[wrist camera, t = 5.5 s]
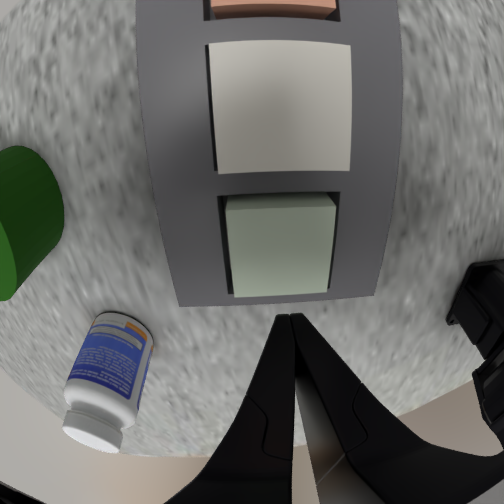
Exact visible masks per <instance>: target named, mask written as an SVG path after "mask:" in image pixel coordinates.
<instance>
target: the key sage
mask: <svg viewBox="0 0 504 504" xmlns="http://www.w3.org/2000/svg"><path fill="white" fill-rule="evenodd" d="M335 215H336V205H335V204H334V203H333V201H332V200H331V199H330V197H329V196H328V195H327V193H326V192H280V193H256V194H237V195H228V199H227V205H226V221H227V231H228V241H229V251H230V261H231V270H232V279H233V288H234V297H258V296H277V295H294V294H309V293H322V292H327V285H328V278H329V270H330V262H331V254H332V245H333V236H334V226H335Z"/></svg>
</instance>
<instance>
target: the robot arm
mask: <svg viewBox="0 0 504 504" xmlns="http://www.w3.org/2000/svg"><path fill="white" fill-rule="evenodd" d="M446 323H447V324H448V325H449V326H450V325H454V324H458V323H459V324H460V325H461V327H462V328H463V330H464V331H465V333H466V335H467V336H468V338H469V339H470V341H471V343H472V344H473V345H476V347H477V348H478V350H479V352H480V354H481V355H482V357H483V359H484V360H485V361H484V362H483V363H482V364H481V366H480V367H479V368H478V369H475V370H474V371H473V372H472V377H473V380H474V385H475V389H476V392H477V397H478V400H479V404H480V409H481V414H482V418H483V420H484V421H485V422H486V424H487V425H488V426H489V428H490V429H491V430H492V431H493V432H494V433H495V435H496V436H497V438H498V439H499V441H500V442H501V445H502V447H503V449H504V260H500V261H492V262H484V263H476V264H472V265H471V266H470V267H469V269H468V271H467V274H466V277H465V279H464V282H463V284H462V286H461V289H460V291H459V293H458V296H457V298H456V300H455V302H454V305H453V307H452V309H451V311H450V313H449V315H448V317H447V319H446ZM295 391H296V396H297V400H298V405H299V409H300V414H301V418H302V423H303V427H304V432H305V436H306V441H307V445H308V450H309V454H310V459H311V464H312V469H313V473H314V478H315V482H316V485H317V486H316V488H317V492H318V497H319V502H320V504H504V450H503V451H502V452H500V453H499V454H497V455H494V456H486V457H485V456H477V455H473V454H468V453H463V452H459V451H455V450H451V449H447V448H443V447H440V446H436V445H433V444H430V443H428V442H426V441H424V440H423V439H421V438H420V437H418V436H417V435H416V434H415V433H414V432H412V431H411V430H410V429H409V428H408V427H407V426H406V425H405V424H403V423H402V422H401V421H400V420H399V419H398V418H397V417H395V416H394V415H393V414H392V413H391V412H390V411H389V410H388V409H387V408H386V407H385V406H383V405H382V404H381V403H380V402H379V401H378V400H377V398H376V397H375V396H374V395H373V394H372V393H371V392H370V391H369V390H368V389H367V387H366V386H365V385H364V384H363V383H361V381H360V379H359V378H358V377H357V376H356V375H355V374H354V372H353V371H352V370H351V369H350V368H349V367H348V365H347V364H346V363H345V362H344V361H343V360H342V358H341V357H340V356H339V355H338V354H337V353H336V352H335V350H334V349H333V348H332V347H331V346H330V345H329V343H328V342H327V341H326V340H325V339H324V338H323V336H322V335H321V334H320V333H319V332H318V331H317V329H316V328H315V327H314V326H313V325H312V324H311V323H310V321H309V320H308V319H307V318H306V317H305V316H304V314H303V313H291V314H290V315H289V314H278V315H276V317H275V320H274V323H273V325H272V328H271V331H270V333H269V336H268V339H267V341H266V344H265V347H264V349H263V352H262V355H261V357H260V360H259V362H258V365H257V367H256V370H255V372H254V375H253V378H252V380H251V383H250V385H249V388H248V390H247V392H246V395H245V397H244V399H243V402H242V404H241V406H240V409H239V411H238V413H237V415H236V417H235V419H234V421H233V423H232V425H231V426H230V428H229V430H228V432H227V433H226V435H225V436H224V438H223V440H222V441H221V443H220V444H219V446H218V447H217V449H216V450H215V452H214V453H213V455H212V456H211V458H210V460H209V461H208V462H207V464H206V465H205V467H204V468H203V469H202V470H201V472H200V473H199V474H198V475H197V476H196V477H195V478H194V479H193V480H192V482H190V483H189V484H188V485H186V486H185V487H184V488H183V489H182V490H180V491H179V492H178V493H177V494H175V495H174V496H173V497H171V498H170V499H169V500H168V501H167V502H165V503H164V504H292V460H293V441H294V414H295ZM0 504H46V503H44V502H42V501H40V500H38V499H36V498H34V497H32V496H29V495H27V494H25V493H23V492H21V491H19V490H16V489H15V488H13V487H11V486H9V485H7V484H5V483H3V482H1V481H0Z"/></svg>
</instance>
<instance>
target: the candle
mask: <svg viewBox="0 0 504 504" xmlns="http://www.w3.org/2000/svg"><path fill="white" fill-rule="evenodd" d="M63 228H64V205H63V200H62V195H61V192H60V189H59V186H58V183H57V181H56V179H55V177H54V175H53V172H52V171H51V169H50V168H49V166H48V165H47V163H46V162H45V161H44V160H43V159H42V158H41V157H40V156H39V155H38V154H37V153H36V152H34V151H33V150H31V149H29V148H27V147H24V146H13V147H9V148H7V149H4V150H2V151H0V301H6V300H8V299H10V298H11V297H12V296H13V295H14V293H15V292H16V291H17V290H18V288H19V287H20V286H21V285H22V283H23V282H24V281H25V280H26V279H27V277H28V276H29V275H30V274H31V273H32V272H33V270H34V269H35V268H36V267H37V266H38V265H39V264H40V262H41V261H42V260H43V259H44V258H45V257H46V256H47V255H48V254H49V253H50V251H51V250H52V249H53V248H54V247H55V246H56V245H57V244H58V242H59V240H60V238H61V235H62V232H63Z"/></svg>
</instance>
